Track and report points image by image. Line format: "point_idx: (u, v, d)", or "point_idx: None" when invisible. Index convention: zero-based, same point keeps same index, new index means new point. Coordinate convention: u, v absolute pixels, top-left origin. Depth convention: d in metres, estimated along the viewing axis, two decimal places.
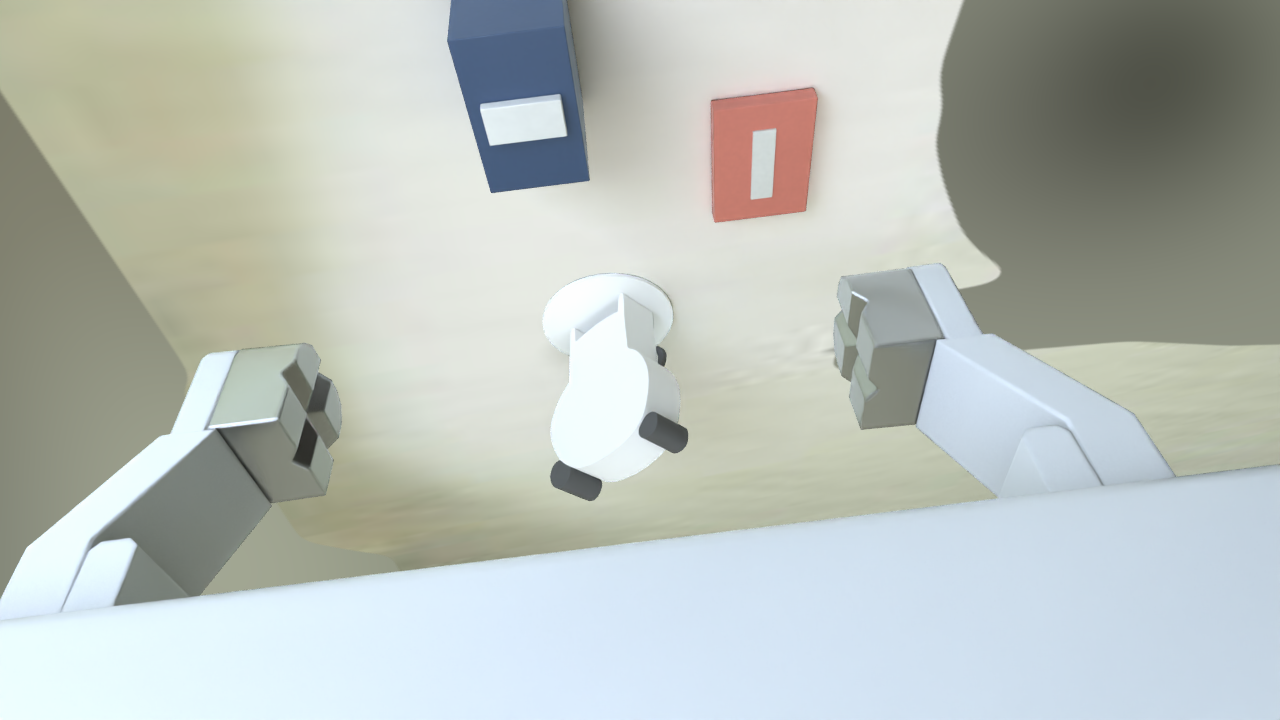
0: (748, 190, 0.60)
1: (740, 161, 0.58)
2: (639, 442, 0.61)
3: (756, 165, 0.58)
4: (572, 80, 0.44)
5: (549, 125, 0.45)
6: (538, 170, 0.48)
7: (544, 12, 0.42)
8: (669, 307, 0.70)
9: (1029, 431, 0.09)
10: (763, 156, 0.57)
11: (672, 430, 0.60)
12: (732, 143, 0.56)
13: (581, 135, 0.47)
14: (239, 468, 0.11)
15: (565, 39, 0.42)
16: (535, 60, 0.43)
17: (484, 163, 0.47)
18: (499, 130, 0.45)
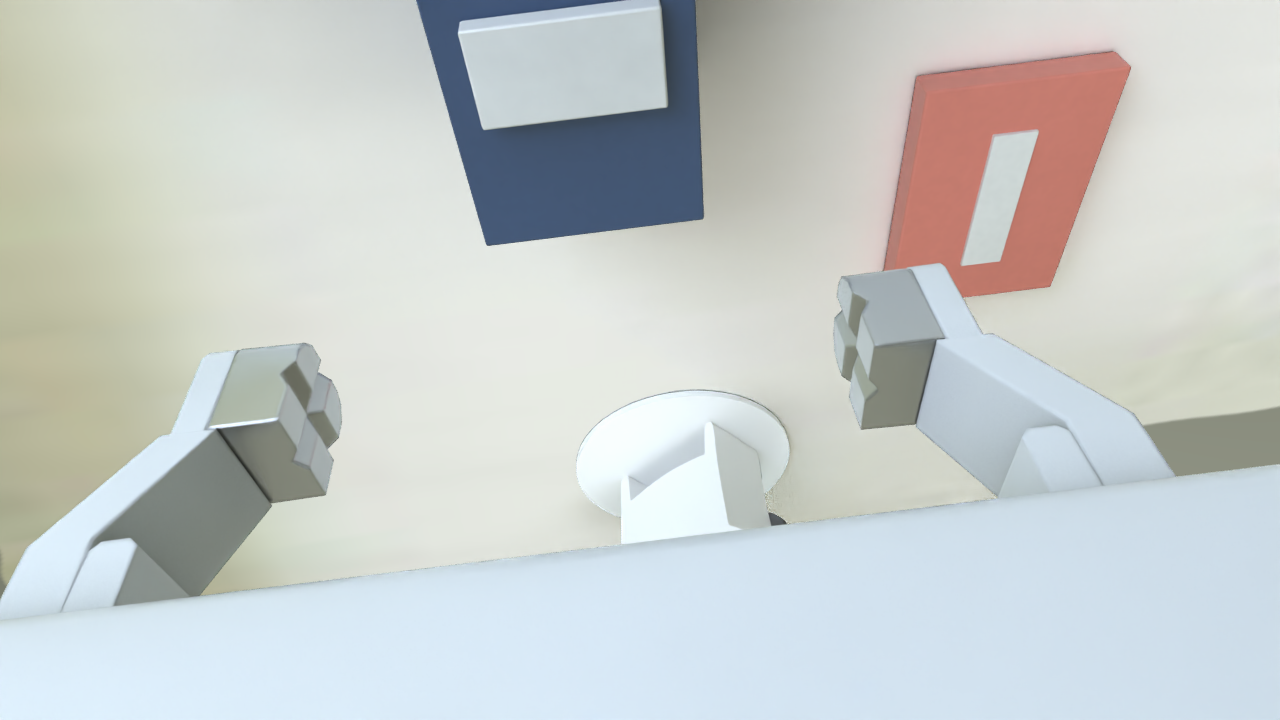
0: (959, 249, 0.33)
1: (957, 194, 0.31)
2: None
3: (985, 202, 0.31)
4: None
5: (627, 77, 0.18)
6: (593, 194, 0.21)
7: None
8: (785, 443, 0.43)
9: (1029, 431, 0.09)
10: (1002, 185, 0.30)
11: None
12: (950, 158, 0.30)
13: (697, 110, 0.20)
14: (239, 468, 0.11)
15: None
16: None
17: (471, 177, 0.21)
18: (505, 90, 0.18)
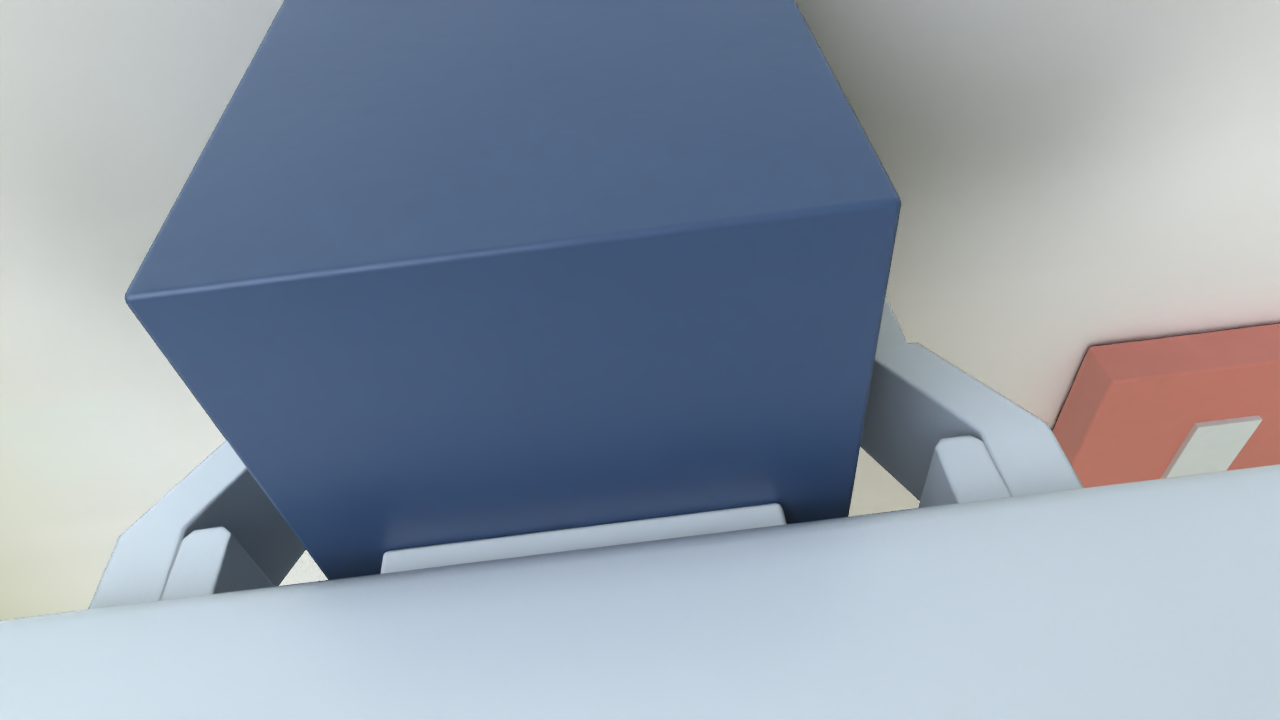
0: None
1: None
2: None
3: None
4: (855, 451, 0.08)
5: None
6: None
7: (741, 114, 0.07)
8: None
9: (942, 442, 0.09)
10: None
11: None
12: (1128, 450, 0.21)
13: None
14: None
15: (884, 276, 0.07)
16: (680, 381, 0.07)
17: None
18: None
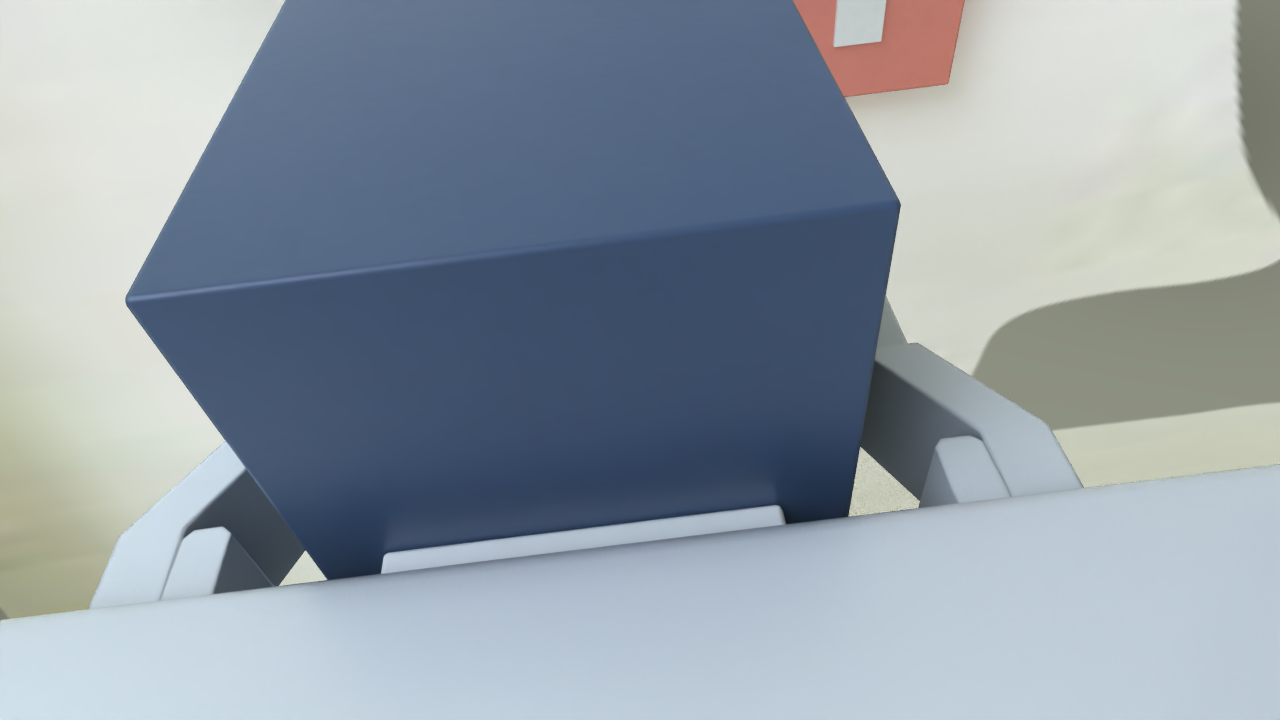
0: (829, 23, 0.27)
1: None
2: None
3: None
4: (855, 453, 0.08)
5: None
6: None
7: (742, 115, 0.07)
8: None
9: (943, 442, 0.09)
10: None
11: None
12: None
13: None
14: None
15: (883, 278, 0.07)
16: (680, 383, 0.07)
17: None
18: None
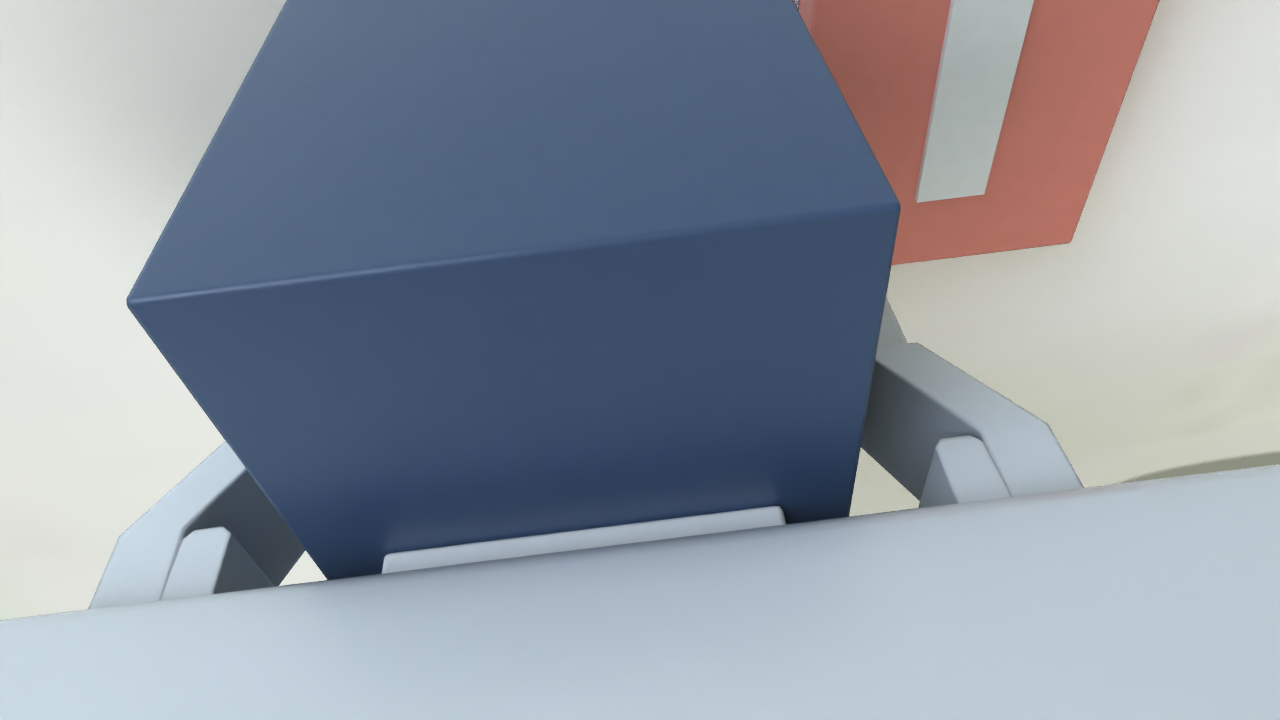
0: (912, 172, 0.19)
1: (901, 60, 0.17)
2: None
3: (954, 76, 0.17)
4: (855, 454, 0.08)
5: None
6: None
7: (742, 117, 0.07)
8: None
9: (943, 442, 0.09)
10: (985, 38, 0.16)
11: None
12: None
13: None
14: None
15: (883, 279, 0.07)
16: (680, 384, 0.07)
17: None
18: None
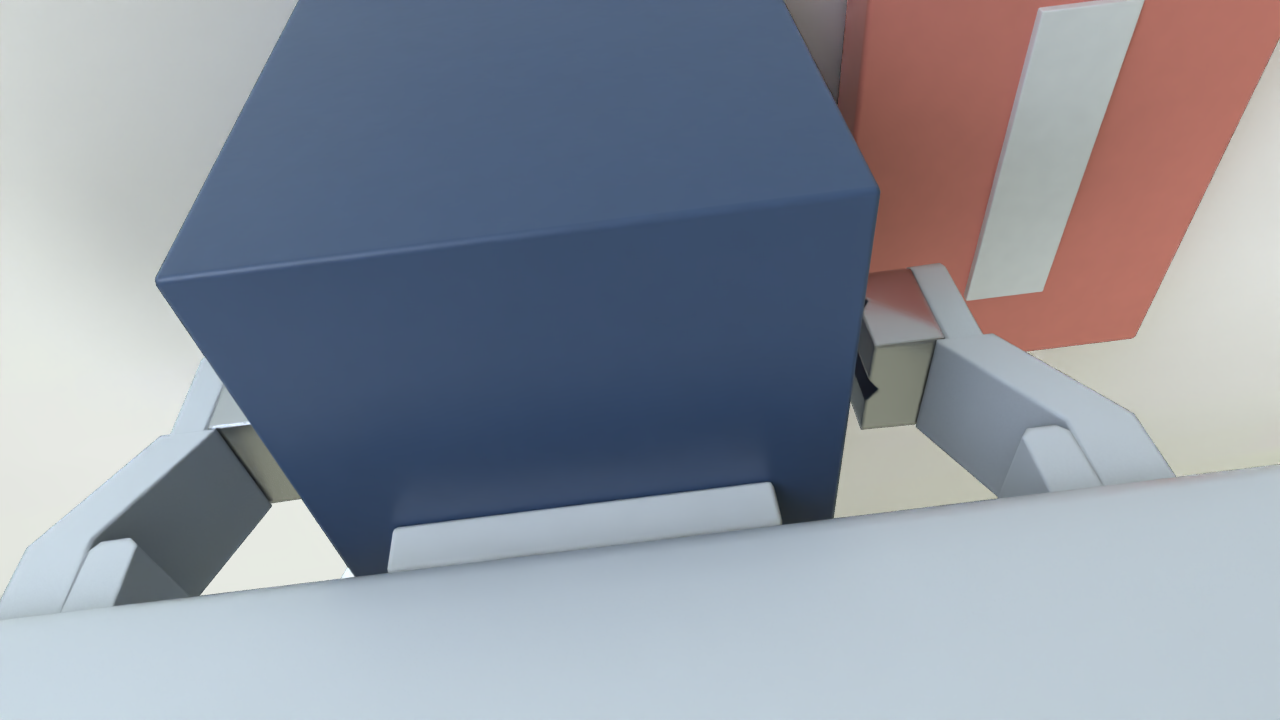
0: (962, 269, 0.16)
1: (957, 152, 0.14)
2: None
3: (1017, 169, 0.15)
4: (842, 431, 0.09)
5: None
6: None
7: (733, 109, 0.08)
8: None
9: (1029, 431, 0.09)
10: (1055, 130, 0.14)
11: None
12: (941, 68, 0.13)
13: None
14: (239, 468, 0.11)
15: (866, 261, 0.07)
16: (675, 362, 0.08)
17: None
18: None
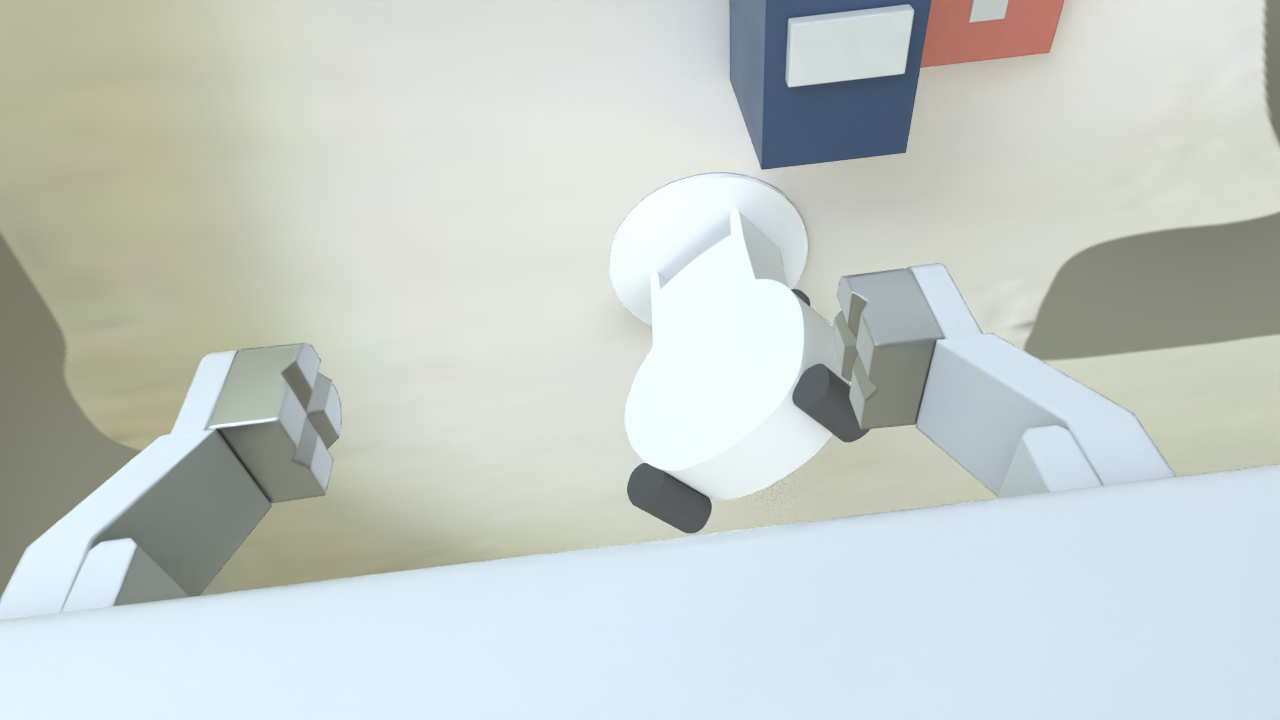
0: (967, 4, 0.36)
1: None
2: (791, 421, 0.35)
3: None
4: None
5: (884, 53, 0.30)
6: (839, 134, 0.33)
7: None
8: (803, 239, 0.46)
9: (1029, 431, 0.09)
10: None
11: None
12: None
13: (917, 77, 0.31)
14: (239, 468, 0.11)
15: None
16: None
17: (765, 120, 0.32)
18: (809, 61, 0.30)
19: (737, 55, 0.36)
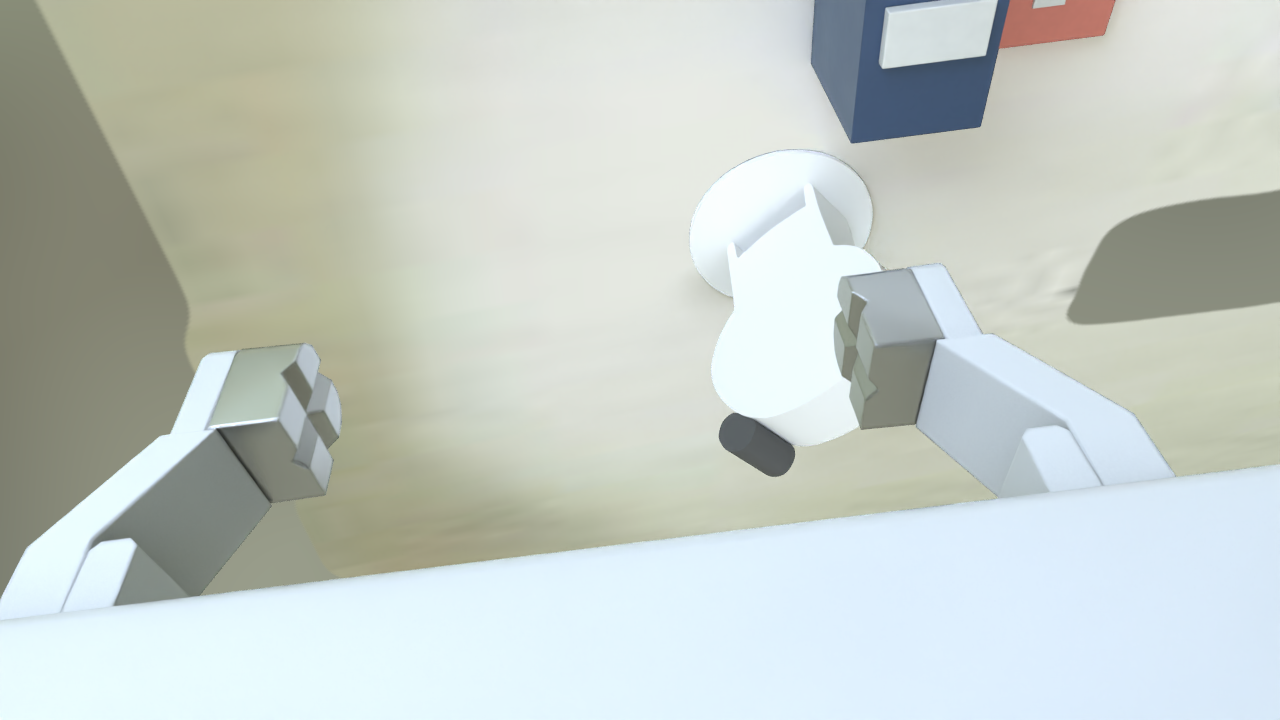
0: None
1: None
2: None
3: None
4: None
5: (969, 38, 0.34)
6: (922, 110, 0.36)
7: None
8: (869, 210, 0.50)
9: (1029, 431, 0.09)
10: None
11: None
12: None
13: (995, 58, 0.35)
14: (239, 468, 0.11)
15: None
16: None
17: (858, 99, 0.36)
18: (903, 45, 0.34)
19: (823, 40, 0.40)
